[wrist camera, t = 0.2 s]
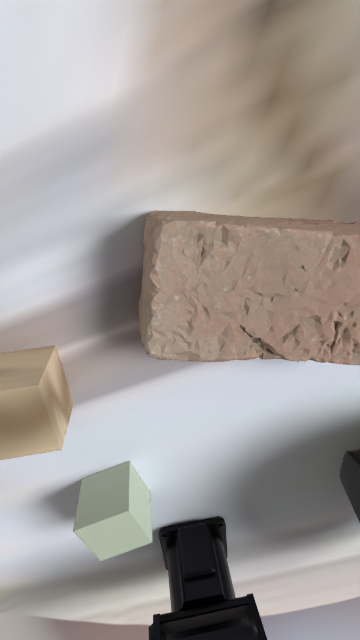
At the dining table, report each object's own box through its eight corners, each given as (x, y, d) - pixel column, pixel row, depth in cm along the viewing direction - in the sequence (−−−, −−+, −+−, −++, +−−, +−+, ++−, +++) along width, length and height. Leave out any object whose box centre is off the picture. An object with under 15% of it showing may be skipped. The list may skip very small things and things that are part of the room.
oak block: (73, 402, 24) (61, 449, 20) (5, 413, 24) (-22, 463, 20) (55, 344, 22) (38, 385, 18) (-21, 355, 22) (-56, 399, 18)
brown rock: (138, 331, 23) (140, 370, 18) (142, 204, 19) (145, 217, 15) (354, 334, 25) (399, 368, 21) (393, 222, 22) (456, 237, 17)
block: (150, 490, 29) (152, 542, 25) (105, 507, 30) (100, 561, 26) (129, 459, 27) (128, 510, 23) (82, 477, 28) (72, 531, 24)
